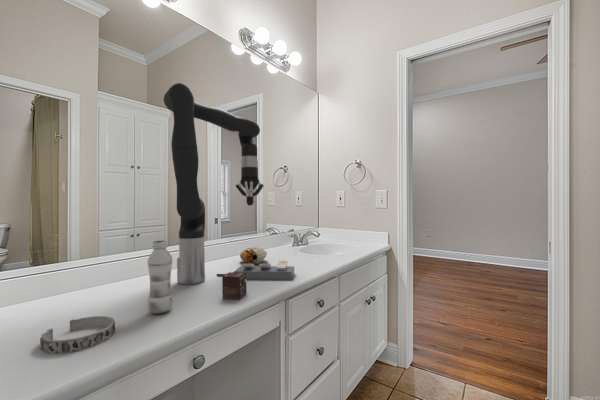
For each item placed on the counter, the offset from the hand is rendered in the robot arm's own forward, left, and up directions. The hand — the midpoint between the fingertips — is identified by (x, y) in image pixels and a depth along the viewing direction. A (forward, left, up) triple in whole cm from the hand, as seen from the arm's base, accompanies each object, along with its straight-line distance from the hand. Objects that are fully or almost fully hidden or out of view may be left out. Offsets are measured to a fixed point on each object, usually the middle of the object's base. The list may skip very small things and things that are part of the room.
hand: (250, 205), depth 130 cm
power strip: (+4, -12, -29) cm, 32 cm away
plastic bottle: (-13, -50, -29) cm, 59 cm away
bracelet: (-23, -66, -30) cm, 76 cm away
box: (+4, -36, -29) cm, 47 cm away
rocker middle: (+9, -12, -25) cm, 30 cm away
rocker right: (+16, -12, -25) cm, 32 cm away
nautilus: (-4, +11, -29) cm, 32 cm away
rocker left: (+2, -12, -25) cm, 28 cm away
